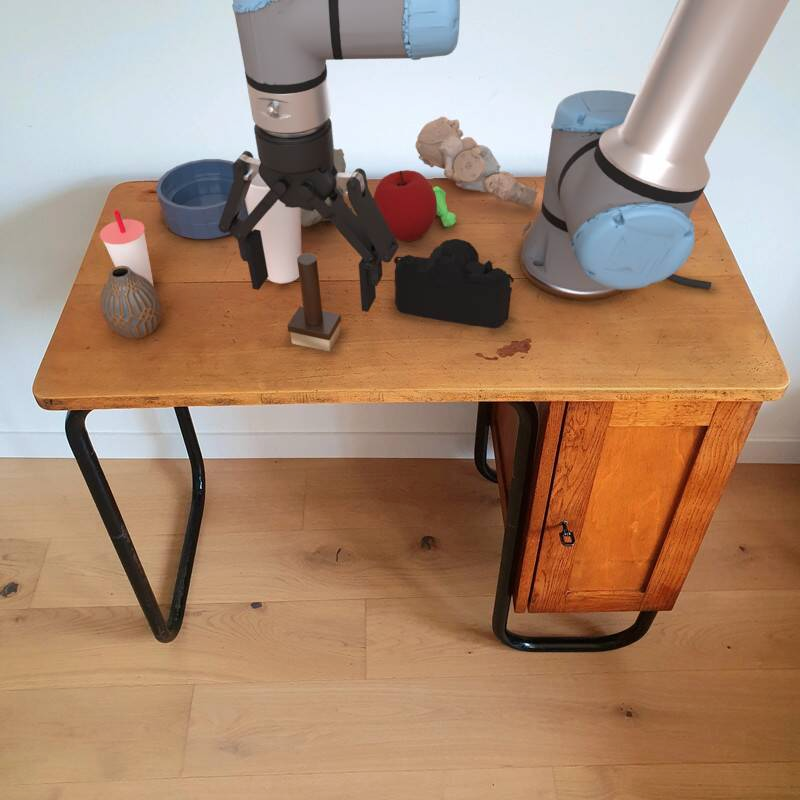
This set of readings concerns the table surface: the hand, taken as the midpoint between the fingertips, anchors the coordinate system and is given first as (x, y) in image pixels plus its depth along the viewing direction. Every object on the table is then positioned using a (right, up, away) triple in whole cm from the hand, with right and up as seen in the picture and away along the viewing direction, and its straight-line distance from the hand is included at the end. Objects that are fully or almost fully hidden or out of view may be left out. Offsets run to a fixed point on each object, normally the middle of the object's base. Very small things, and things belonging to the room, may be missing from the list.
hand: (313, 293), depth 90 cm
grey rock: (-3, +15, +24) cm, 28 cm away
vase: (-23, -4, +7) cm, 24 cm away
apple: (+11, +11, +20) cm, 26 cm away
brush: (0, -5, +5) cm, 7 cm away
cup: (-24, +2, +12) cm, 27 cm away
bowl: (-18, +15, +23) cm, 33 cm away
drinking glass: (-6, +4, +14) cm, 16 cm away
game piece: (+14, +17, +22) cm, 32 cm away
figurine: (+15, +29, +30) cm, 44 cm away
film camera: (+17, 0, +10) cm, 20 cm away
